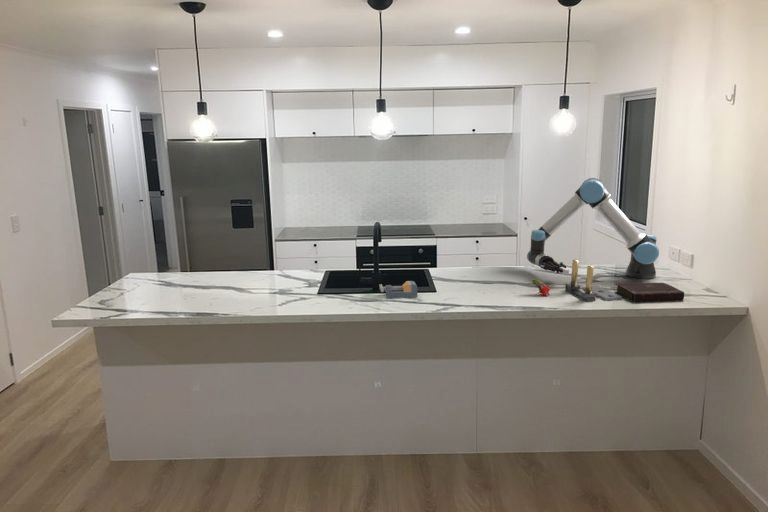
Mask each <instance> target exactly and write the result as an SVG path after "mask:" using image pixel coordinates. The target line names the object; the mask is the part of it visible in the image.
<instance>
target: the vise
mask: <svg viewBox="0 0 768 512" xmlns="http://www.w3.org/2000/svg"><path fill="white" fill-rule="evenodd" d="M378 286H379V290H380V292H381V293H384V292H385V296H386V299H388V300H393V299H399V298H400V299H402V298H405V299H406V298H409V299H417V298H418V286H417V284H416V282H415V281H413V280H407V281H405V282H404V283H403V284H402V285H391V284H386V285H385V286H383V284H382V283H381V284H379V285H378Z"/></svg>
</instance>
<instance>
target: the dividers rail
mask: <svg viewBox="0 0 768 512" xmlns="http://www.w3.org/2000/svg"><path fill="white" fill-rule="evenodd" d="M586 267H587V269H586V279H585V280H586V281H585V287H586V289H585V290H584V291H582V290H581V289H578V290H570V289H568V288H567V285H571V283H567V284H565V291H566V292H568V293H570V294H571V295H573V296H574V297H576V298H579V299H581V300H582V301H583V302H584V301H585V302H586V303H588V302H595V301H596V296H595V293H593V292H592V287H593V282H594V281H593V279H594V269H595V268H594V266H593V265H587V266H586Z"/></svg>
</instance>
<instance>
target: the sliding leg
mask: <svg viewBox="0 0 768 512" xmlns="http://www.w3.org/2000/svg"><path fill="white" fill-rule="evenodd" d="M579 261H580V260H579V259H572V265H571V278H570V284H571V285H567V288H568V289H570V290H581V285H578V271H579V263H580V262H579Z"/></svg>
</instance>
